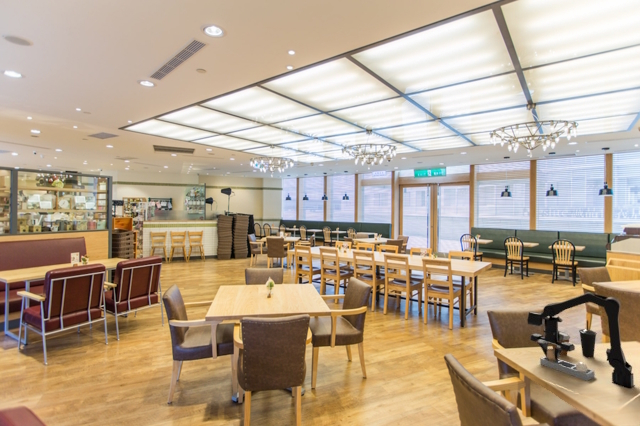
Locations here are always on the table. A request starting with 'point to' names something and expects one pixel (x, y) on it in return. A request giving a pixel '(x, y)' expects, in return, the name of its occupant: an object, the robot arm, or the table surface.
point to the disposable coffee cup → (565, 339)
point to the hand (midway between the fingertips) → (551, 358)
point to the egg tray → (567, 368)
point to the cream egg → (581, 367)
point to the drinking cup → (587, 342)
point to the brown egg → (551, 355)
